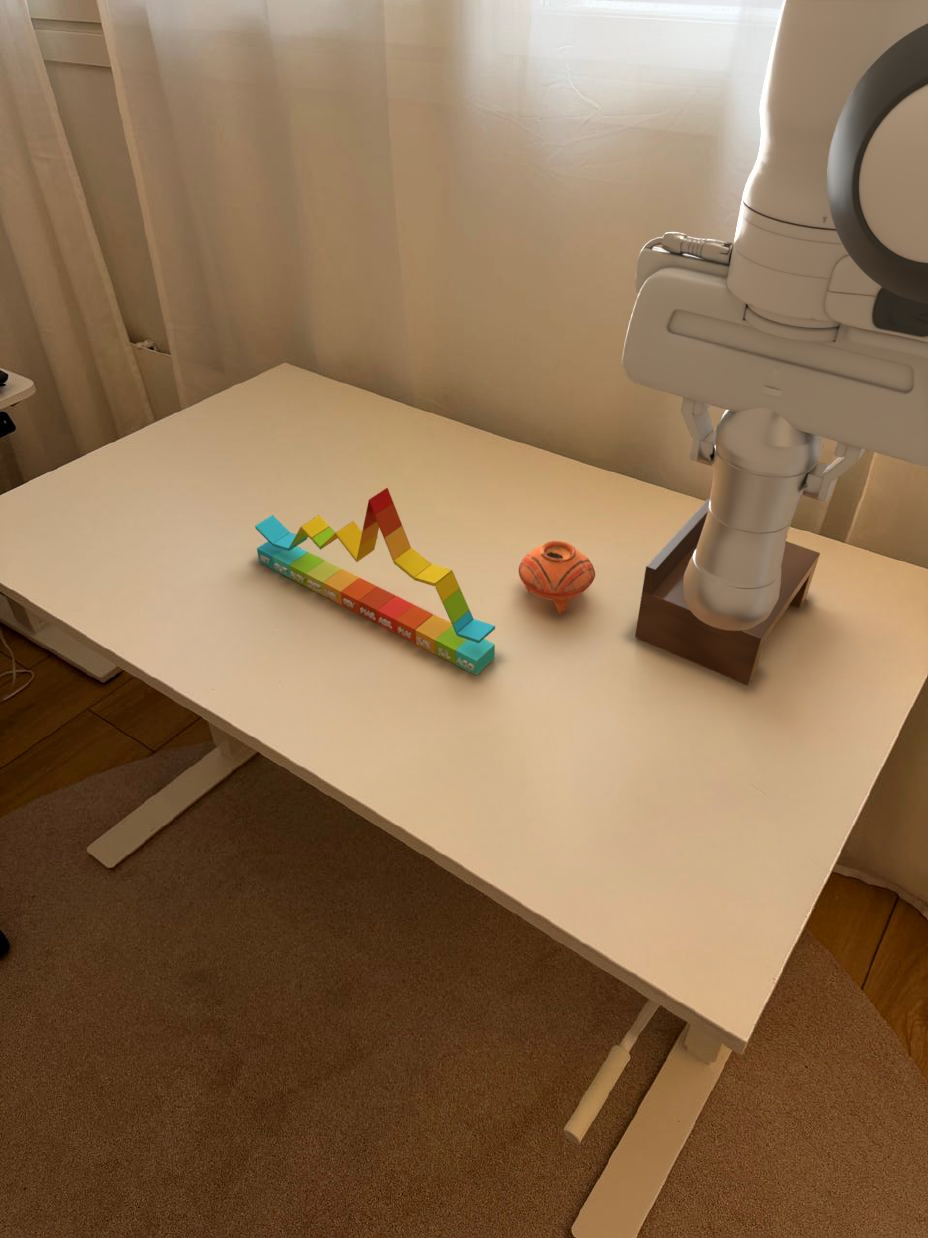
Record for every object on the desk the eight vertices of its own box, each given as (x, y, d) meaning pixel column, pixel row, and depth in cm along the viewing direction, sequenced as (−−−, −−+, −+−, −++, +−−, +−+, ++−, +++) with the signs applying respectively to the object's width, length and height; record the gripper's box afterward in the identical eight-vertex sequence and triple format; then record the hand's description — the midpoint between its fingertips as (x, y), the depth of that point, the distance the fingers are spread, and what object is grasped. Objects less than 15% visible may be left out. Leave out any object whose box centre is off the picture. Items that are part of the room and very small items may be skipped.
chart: (257, 563, 100) (234, 444, 90) (278, 549, 102) (258, 431, 92) (475, 677, 86) (475, 551, 76) (494, 659, 88) (497, 533, 78)
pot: (507, 613, 93) (511, 553, 89) (526, 584, 99) (530, 527, 96) (584, 626, 91) (590, 565, 87) (597, 595, 97) (603, 537, 94)
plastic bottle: (698, 575, 69) (752, 323, 56) (784, 606, 66) (861, 349, 53) (663, 620, 65) (712, 360, 52) (752, 655, 62) (828, 390, 49)
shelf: (806, 598, 95) (828, 528, 89) (747, 685, 85) (768, 613, 79) (700, 559, 100) (715, 490, 94) (634, 637, 90) (645, 566, 84)
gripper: (617, 240, 52) (595, 450, 61) (1000, 320, 43) (907, 553, 52) (665, 212, 55) (637, 413, 65) (1024, 281, 47) (933, 503, 56)
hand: (759, 477), depth 58 cm, fingers closed on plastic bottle, 6 cm apart
